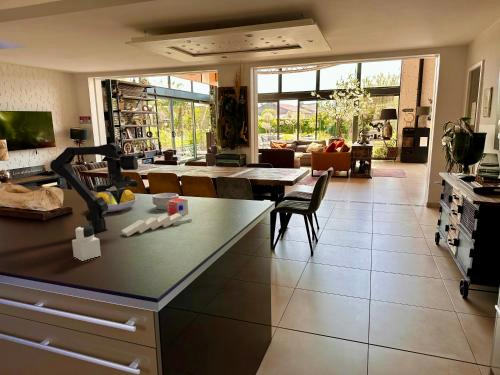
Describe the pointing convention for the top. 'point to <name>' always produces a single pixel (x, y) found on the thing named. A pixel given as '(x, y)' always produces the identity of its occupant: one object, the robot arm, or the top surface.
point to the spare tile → (183, 221)
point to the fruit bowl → (125, 202)
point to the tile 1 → (134, 227)
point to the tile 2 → (148, 224)
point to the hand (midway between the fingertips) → (118, 204)
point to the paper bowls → (163, 199)
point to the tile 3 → (161, 221)
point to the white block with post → (85, 243)
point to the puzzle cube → (177, 206)
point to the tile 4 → (172, 220)
